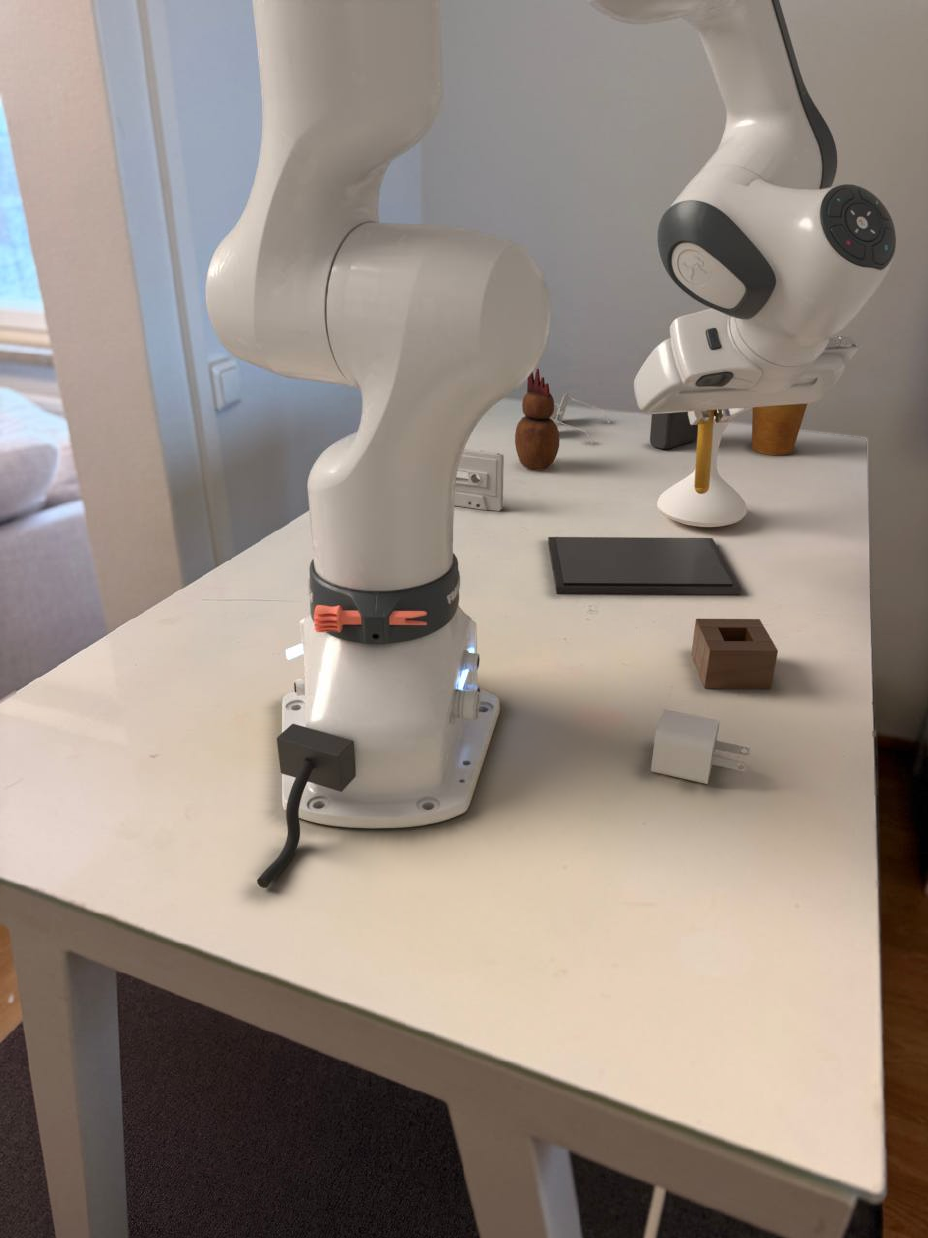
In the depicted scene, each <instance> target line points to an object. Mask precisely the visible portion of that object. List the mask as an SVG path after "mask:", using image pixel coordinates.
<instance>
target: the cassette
mask: <svg viewBox="0 0 928 1238" xmlns="http://www.w3.org/2000/svg"><path fill="white" fill-rule="evenodd" d="M504 459H505V456H504V454H503V453H499V452H493V451H483V450H475V449H468V448H467V449H466V448H464V450H463V453H462V455H461V459H460V462H459V466H458V470H457V472H461V473H462V472H463V473H467V474H468V476H467V478H464V477H458V476H456V485H455V498H454V507H461V508H469V509H475V510H483V511H493V512H495V511H496V512H500V511H501V510H502V509H504V508H503V507H504V467H505V465H504V464H505V463H504V462H505V461H504ZM478 477H479V478H478Z"/></svg>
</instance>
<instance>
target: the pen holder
mask: <svg viewBox="0 0 928 1238" xmlns="http://www.w3.org/2000/svg"><path fill="white" fill-rule="evenodd" d="M778 652H779V650H778V648H777V646H776V645H775V643H774V641H773V640H772V638H771V636H770V634H769V633H768V631H767V628H766V627H765V625H764V623H763V622H762V620H761V619H760V618H696V619H695V624H694V631H693V638H692V646H691V652H690V656H691V658H692V660H693V664H694V666H695V667H696V671H697V673H698V676H699V678H700V680H701V683H702V686H703V688H704V689H735V690H736V689H738V690H739V689H743V690H744V689H745V690H746V689H749V690H752V689H753V690H758V689H759V690H771V689H772V685H773V680H774V675H775V670H776V669H775V668H776V663H777V659H778V658H777V657H778V654H779V653H778Z"/></svg>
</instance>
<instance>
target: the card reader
mask: <svg viewBox="0 0 928 1238" xmlns="http://www.w3.org/2000/svg"><path fill="white" fill-rule="evenodd" d="M650 419H651V420H650V432H649V442H650V445H651V447H654V448H658V449H662V450H669V449H672V448H676V447H679V446H682V445H685V444H688V443H692V442H695V441H697V435H698V425H691V424H690V421H689V417H688V412H675V413H661V414H651V418H650Z"/></svg>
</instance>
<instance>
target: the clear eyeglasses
mask: <svg viewBox="0 0 928 1238" xmlns="http://www.w3.org/2000/svg"><path fill="white" fill-rule="evenodd" d="M569 400H572V401H574V402H577V403H580V404H583V405H586V406H589V407H592V408H595V410H599V411H601V412H603V413H604V415H605V418H606V420H607V423H608V424H610V423H611V421H610V420H609V416H608V415H607V413H606V412H605V410H603V409H601V408H598V407H595V406H592V405H590V404H588V403H585V402H582V401H580V400H577V399H575V398H572V397H570V396H569V393H567V392H565V394H564V395H563V396H562V399H561V401H560V405H559V406H558V404H555V403H554V412H553V414H552V416H551V417H550V419H552V420H553V421H554V423H557V424H561V425H564V426H568V427H570V428H573V429H576V430H578V431H581V432H583V433H585V434H586V435H587V436H588V438H589V441H590V444H594V442H593V440H592V437H591V436H590V434H589V433H588V432H587V431H586V430H584V429H581V428H578V427H575V426H572V425H569V424H568V423H564V422H562V419H563V418H564V416H565V412H566V408H567V405H568V402H569Z"/></svg>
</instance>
